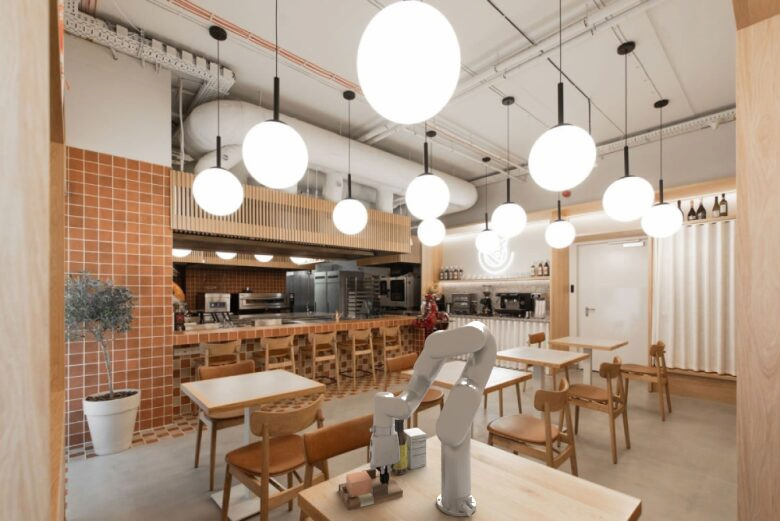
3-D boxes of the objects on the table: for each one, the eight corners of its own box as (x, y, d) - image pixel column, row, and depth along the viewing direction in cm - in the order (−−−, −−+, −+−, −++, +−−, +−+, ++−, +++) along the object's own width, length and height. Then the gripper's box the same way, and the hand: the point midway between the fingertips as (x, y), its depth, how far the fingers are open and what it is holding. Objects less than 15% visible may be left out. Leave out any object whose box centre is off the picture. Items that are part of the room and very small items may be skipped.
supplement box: (401, 461, 148) (401, 429, 149) (417, 458, 151) (417, 426, 152) (410, 470, 141) (410, 436, 142) (426, 466, 144) (426, 433, 145)
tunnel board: (402, 496, 123) (402, 481, 124) (348, 509, 116) (348, 493, 116) (388, 479, 134) (388, 465, 135) (338, 490, 127) (338, 475, 127)
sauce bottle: (410, 472, 139) (410, 418, 141) (397, 477, 136) (397, 422, 137) (400, 465, 145) (401, 414, 146) (387, 469, 141) (388, 417, 143)
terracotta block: (371, 492, 122) (371, 478, 122) (351, 497, 119) (351, 483, 120) (365, 483, 127) (365, 470, 128) (346, 488, 125) (346, 474, 125)
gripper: (368, 436, 122) (368, 494, 121) (407, 429, 128) (408, 484, 127) (360, 428, 129) (360, 483, 127) (398, 422, 135) (399, 474, 133)
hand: (384, 483), depth 127 cm, fingers closed
